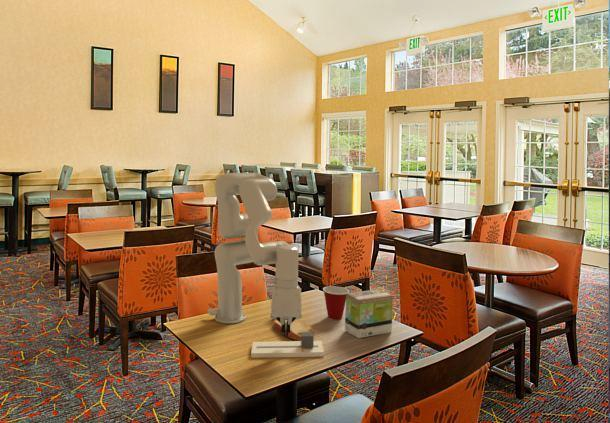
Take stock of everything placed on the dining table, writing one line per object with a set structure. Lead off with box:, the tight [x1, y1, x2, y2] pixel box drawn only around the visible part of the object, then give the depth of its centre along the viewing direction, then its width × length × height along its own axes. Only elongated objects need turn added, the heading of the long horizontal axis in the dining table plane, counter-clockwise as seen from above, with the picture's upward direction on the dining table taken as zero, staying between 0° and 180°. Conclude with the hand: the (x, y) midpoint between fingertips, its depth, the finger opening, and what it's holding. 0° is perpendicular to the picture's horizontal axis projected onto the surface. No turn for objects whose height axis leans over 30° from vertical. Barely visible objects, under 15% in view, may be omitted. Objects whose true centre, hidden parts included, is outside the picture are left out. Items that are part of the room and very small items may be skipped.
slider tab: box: [301, 331, 314, 348], centre depth 171 cm, size 4×4×4 cm
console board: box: [250, 340, 325, 359], centre depth 171 cm, size 24×10×2 cm, turn 92°
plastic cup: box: [322, 285, 350, 320], centre depth 205 cm, size 11×11×12 cm
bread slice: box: [272, 319, 315, 341], centre depth 189 cm, size 18×18×4 cm
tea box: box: [344, 288, 394, 339], centre depth 188 cm, size 15×10×15 cm, turn 117°
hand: (285, 334), depth 171 cm, fingers closed
